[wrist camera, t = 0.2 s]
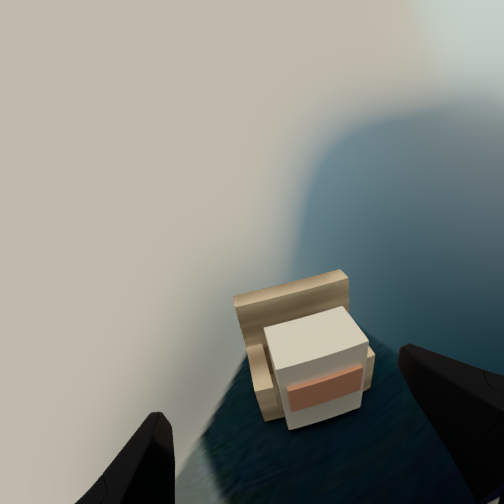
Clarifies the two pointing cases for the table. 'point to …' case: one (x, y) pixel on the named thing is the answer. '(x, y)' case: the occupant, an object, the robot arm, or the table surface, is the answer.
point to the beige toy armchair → (283, 310)
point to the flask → (494, 501)
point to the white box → (318, 365)
